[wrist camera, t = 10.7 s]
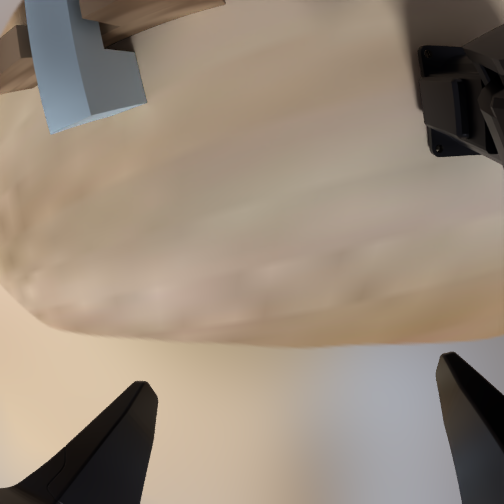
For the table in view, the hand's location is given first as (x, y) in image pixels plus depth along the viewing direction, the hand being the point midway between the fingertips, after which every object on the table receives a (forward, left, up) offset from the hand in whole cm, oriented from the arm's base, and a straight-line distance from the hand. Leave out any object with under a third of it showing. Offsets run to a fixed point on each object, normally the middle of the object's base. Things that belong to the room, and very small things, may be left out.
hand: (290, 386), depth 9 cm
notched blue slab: (+8, -14, -12) cm, 20 cm away
